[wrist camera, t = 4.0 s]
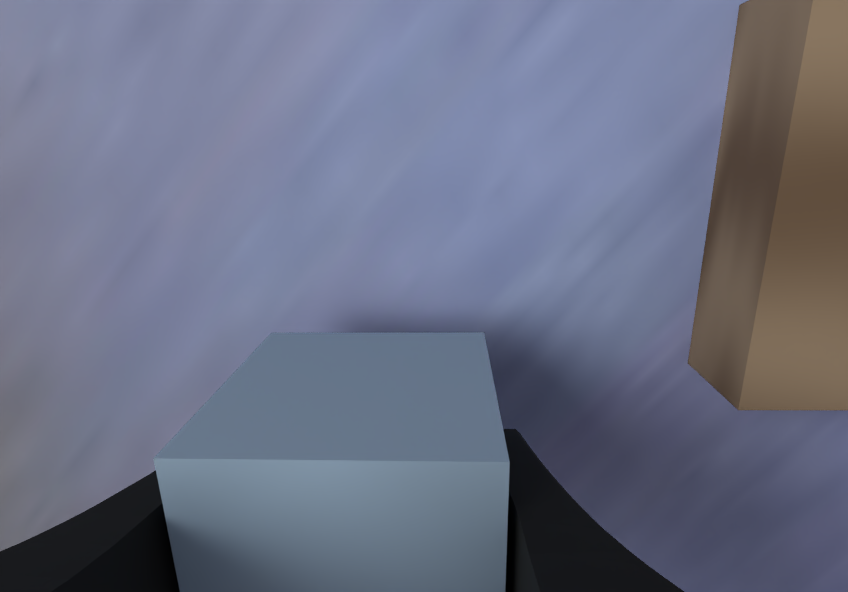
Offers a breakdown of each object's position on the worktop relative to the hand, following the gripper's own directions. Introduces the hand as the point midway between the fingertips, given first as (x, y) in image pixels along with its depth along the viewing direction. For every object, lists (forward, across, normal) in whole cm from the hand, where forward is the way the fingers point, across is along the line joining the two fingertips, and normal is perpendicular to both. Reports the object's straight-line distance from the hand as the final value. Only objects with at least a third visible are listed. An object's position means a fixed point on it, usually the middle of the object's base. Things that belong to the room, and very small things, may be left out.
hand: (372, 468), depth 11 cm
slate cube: (+2, 0, 0) cm, 2 cm away
